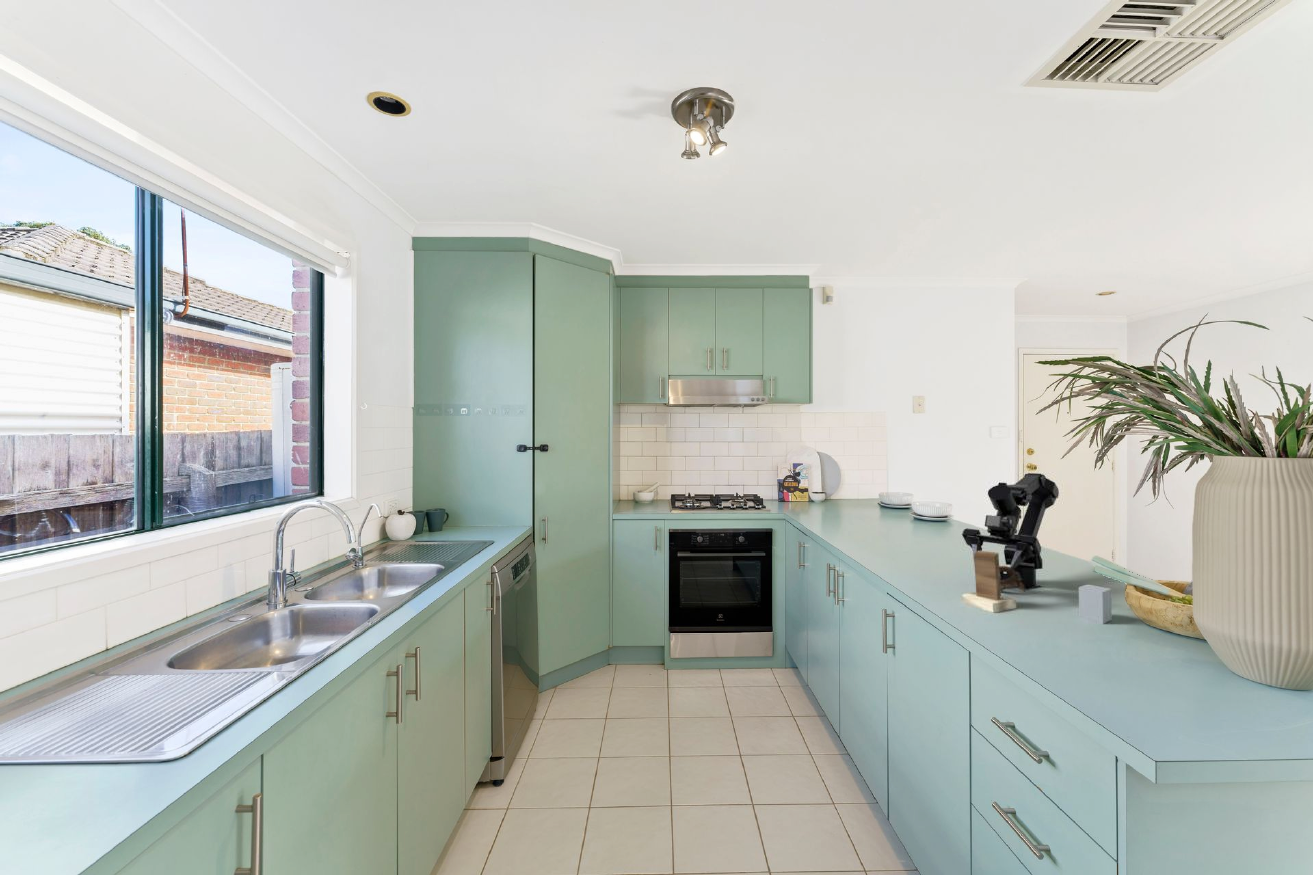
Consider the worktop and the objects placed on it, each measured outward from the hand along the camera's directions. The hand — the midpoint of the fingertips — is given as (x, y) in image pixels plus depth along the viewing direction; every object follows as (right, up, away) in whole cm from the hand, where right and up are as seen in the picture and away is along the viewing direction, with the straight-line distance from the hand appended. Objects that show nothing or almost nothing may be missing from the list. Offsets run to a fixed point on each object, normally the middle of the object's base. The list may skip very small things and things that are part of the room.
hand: (992, 565), depth 150 cm
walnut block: (-2, -8, -2) cm, 8 cm away
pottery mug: (+11, -11, +12) cm, 20 cm away
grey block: (+17, -10, -14) cm, 25 cm away
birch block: (-2, -11, -2) cm, 12 cm away
